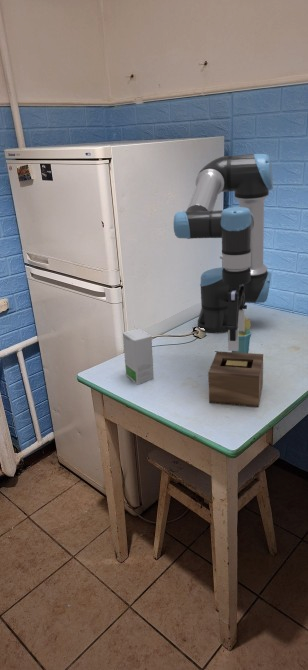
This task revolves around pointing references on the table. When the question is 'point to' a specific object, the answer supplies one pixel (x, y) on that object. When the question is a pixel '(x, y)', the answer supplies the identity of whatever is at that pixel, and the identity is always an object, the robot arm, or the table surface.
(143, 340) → the skincare box
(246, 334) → the cup
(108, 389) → the table surface
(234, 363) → the block
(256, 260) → the robot arm
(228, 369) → the coin box
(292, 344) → the table surface
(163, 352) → the table surface
